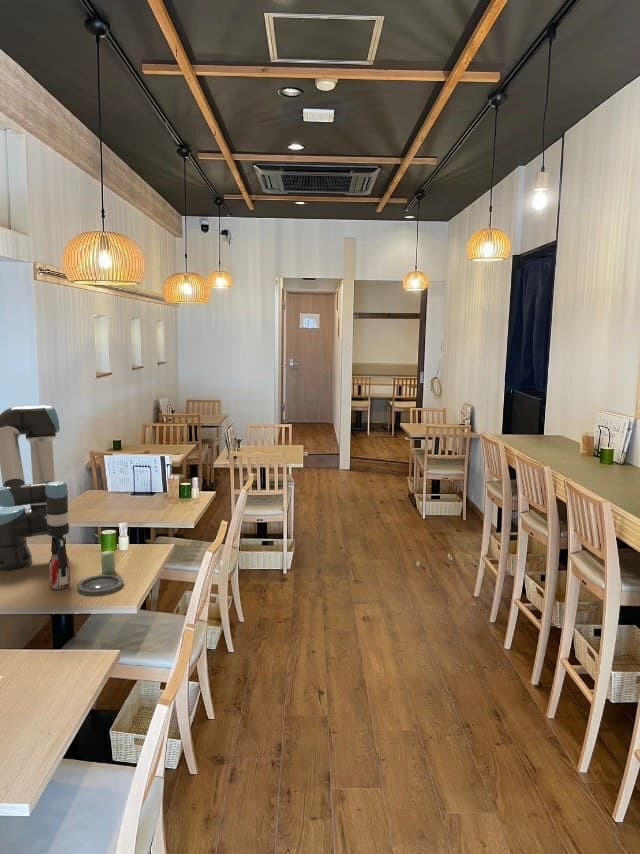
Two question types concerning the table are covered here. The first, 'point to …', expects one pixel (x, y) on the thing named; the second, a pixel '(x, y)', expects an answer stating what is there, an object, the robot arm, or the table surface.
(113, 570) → the tea canister
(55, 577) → the soda can
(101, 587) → the saucer
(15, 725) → the table surface
